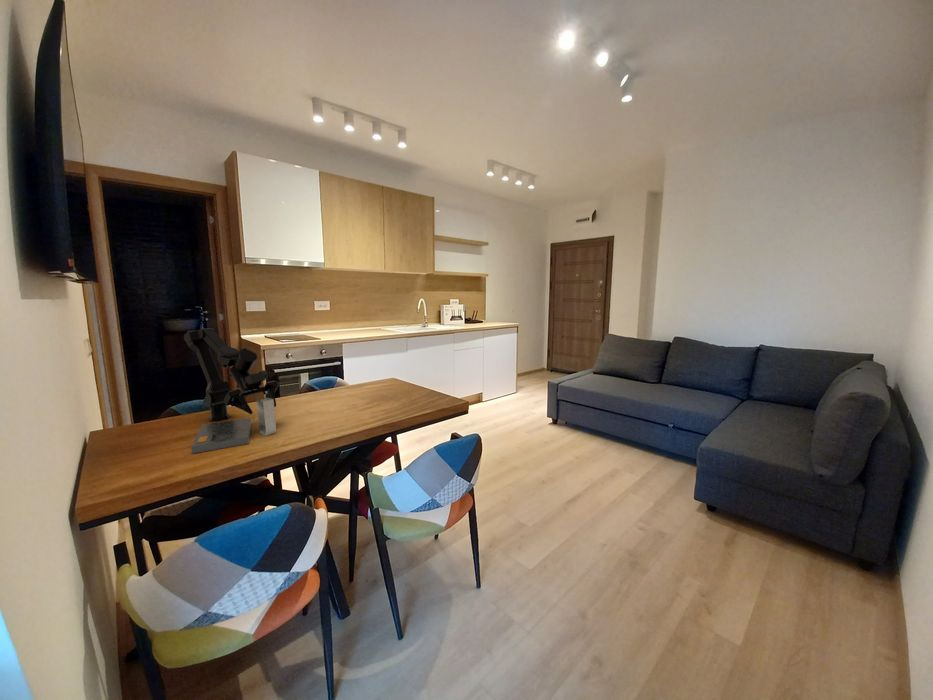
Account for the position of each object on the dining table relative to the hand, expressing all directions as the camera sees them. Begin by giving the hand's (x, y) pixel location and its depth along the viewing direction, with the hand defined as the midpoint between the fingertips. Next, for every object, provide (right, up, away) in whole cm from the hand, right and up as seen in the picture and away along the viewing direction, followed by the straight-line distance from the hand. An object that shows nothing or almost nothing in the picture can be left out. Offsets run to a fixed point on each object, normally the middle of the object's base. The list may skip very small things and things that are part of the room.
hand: (263, 409), depth 134 cm
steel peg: (+1, -9, +1) cm, 9 cm away
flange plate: (-13, -10, -3) cm, 16 cm away
